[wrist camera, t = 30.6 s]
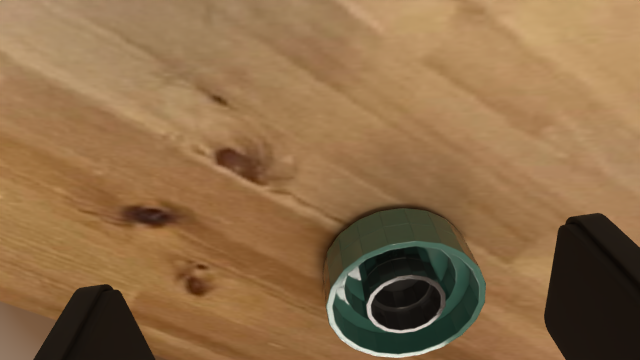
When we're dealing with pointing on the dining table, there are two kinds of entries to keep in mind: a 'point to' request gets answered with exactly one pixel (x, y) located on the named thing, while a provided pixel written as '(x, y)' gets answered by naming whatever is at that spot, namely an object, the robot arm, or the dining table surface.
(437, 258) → the green bowl
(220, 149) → the dining table surface
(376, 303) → the charcoal bowl
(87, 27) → the dining table surface
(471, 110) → the dining table surface
